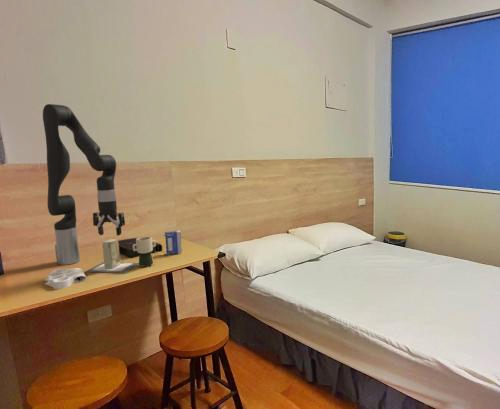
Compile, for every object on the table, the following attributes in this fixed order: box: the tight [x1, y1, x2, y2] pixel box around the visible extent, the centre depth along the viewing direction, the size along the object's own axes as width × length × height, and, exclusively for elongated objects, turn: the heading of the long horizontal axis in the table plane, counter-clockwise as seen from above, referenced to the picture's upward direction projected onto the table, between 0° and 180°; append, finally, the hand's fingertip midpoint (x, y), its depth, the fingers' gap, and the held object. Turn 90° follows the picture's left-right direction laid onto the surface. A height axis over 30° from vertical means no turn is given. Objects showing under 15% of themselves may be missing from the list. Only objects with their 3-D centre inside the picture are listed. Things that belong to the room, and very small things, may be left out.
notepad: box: [85, 261, 139, 274], centre depth 150 cm, size 19×13×1 cm
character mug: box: [133, 236, 157, 267], centre depth 151 cm, size 11×7×13 cm, turn 130°
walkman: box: [164, 230, 183, 256], centre depth 168 cm, size 8×3×12 cm, turn 103°
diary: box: [118, 236, 163, 259], centre depth 178 cm, size 19×25×5 cm
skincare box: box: [101, 238, 121, 268], centre depth 149 cm, size 6×4×12 cm
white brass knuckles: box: [44, 267, 87, 290], centre depth 135 cm, size 3×18×15 cm
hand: (110, 235), depth 148 cm, fingers open, 8 cm apart
